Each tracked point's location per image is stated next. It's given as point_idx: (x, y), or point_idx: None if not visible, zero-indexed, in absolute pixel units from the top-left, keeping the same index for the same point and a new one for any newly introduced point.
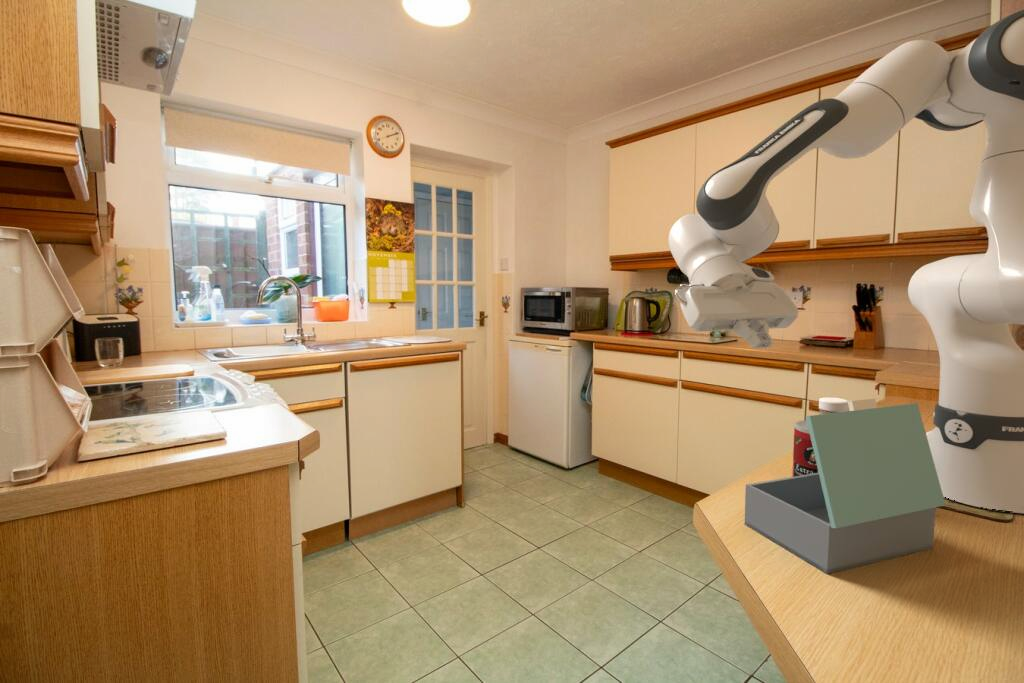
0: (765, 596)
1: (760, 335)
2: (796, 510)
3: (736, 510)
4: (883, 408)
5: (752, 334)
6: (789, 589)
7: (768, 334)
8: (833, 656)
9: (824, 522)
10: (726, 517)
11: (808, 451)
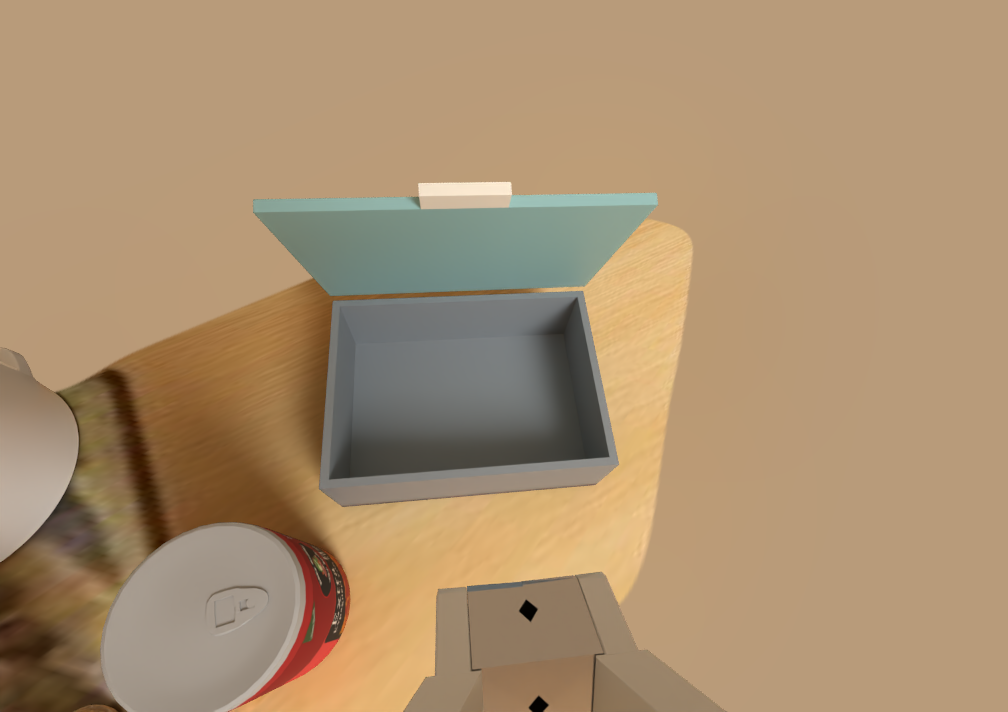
0: (676, 316)
1: (557, 633)
2: (593, 345)
3: (574, 546)
4: (399, 198)
5: (645, 655)
6: (638, 319)
7: (446, 651)
8: (662, 238)
9: (581, 301)
10: (613, 521)
11: (322, 579)
